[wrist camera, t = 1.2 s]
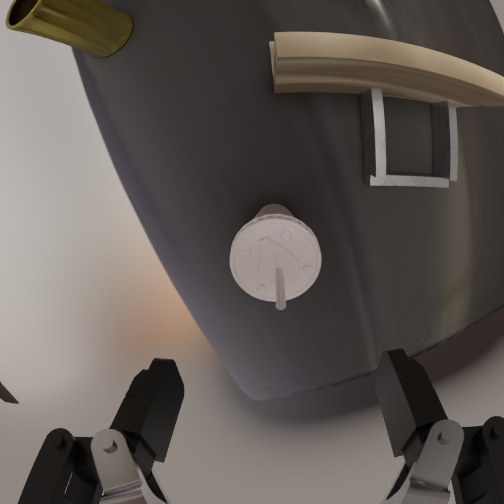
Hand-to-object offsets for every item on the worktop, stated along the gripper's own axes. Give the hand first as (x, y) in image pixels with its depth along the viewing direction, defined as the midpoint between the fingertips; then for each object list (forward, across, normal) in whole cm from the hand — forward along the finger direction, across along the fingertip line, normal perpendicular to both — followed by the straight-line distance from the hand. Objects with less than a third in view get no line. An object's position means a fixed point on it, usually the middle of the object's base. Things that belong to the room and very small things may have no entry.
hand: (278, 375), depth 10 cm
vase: (+20, +16, -24) cm, 35 cm away
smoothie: (+20, 0, 0) cm, 20 cm away
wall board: (+19, -11, -15) cm, 27 cm away
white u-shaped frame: (+20, -14, -8) cm, 25 cm away
